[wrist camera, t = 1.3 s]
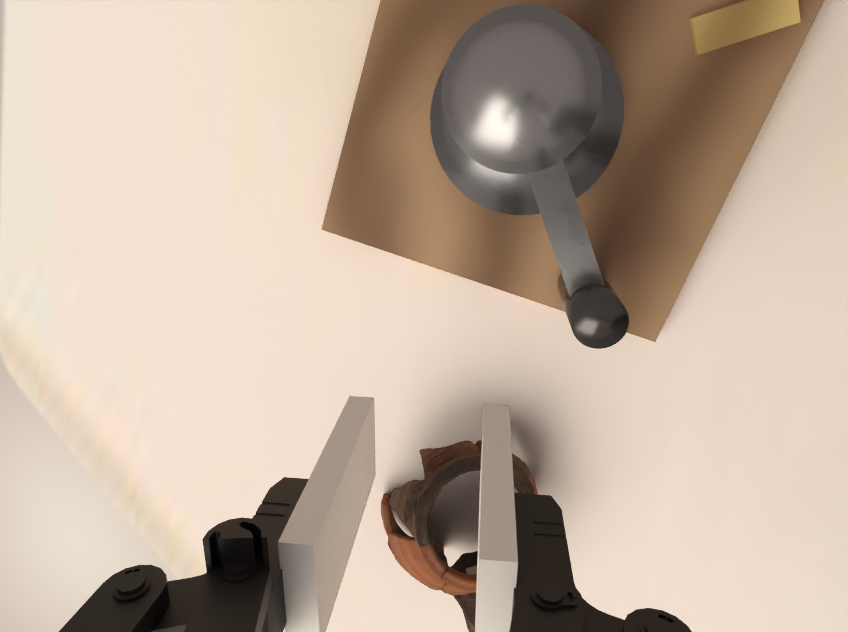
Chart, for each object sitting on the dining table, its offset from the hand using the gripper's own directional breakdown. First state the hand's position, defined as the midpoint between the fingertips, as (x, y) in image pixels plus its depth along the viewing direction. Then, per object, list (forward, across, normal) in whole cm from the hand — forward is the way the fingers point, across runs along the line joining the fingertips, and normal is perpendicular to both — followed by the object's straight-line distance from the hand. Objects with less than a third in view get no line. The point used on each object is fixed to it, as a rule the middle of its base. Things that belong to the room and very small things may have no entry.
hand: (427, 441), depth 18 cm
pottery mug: (+17, +1, -14) cm, 22 cm away
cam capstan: (+15, +4, +7) cm, 17 cm away
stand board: (+17, +4, +10) cm, 20 cm away
